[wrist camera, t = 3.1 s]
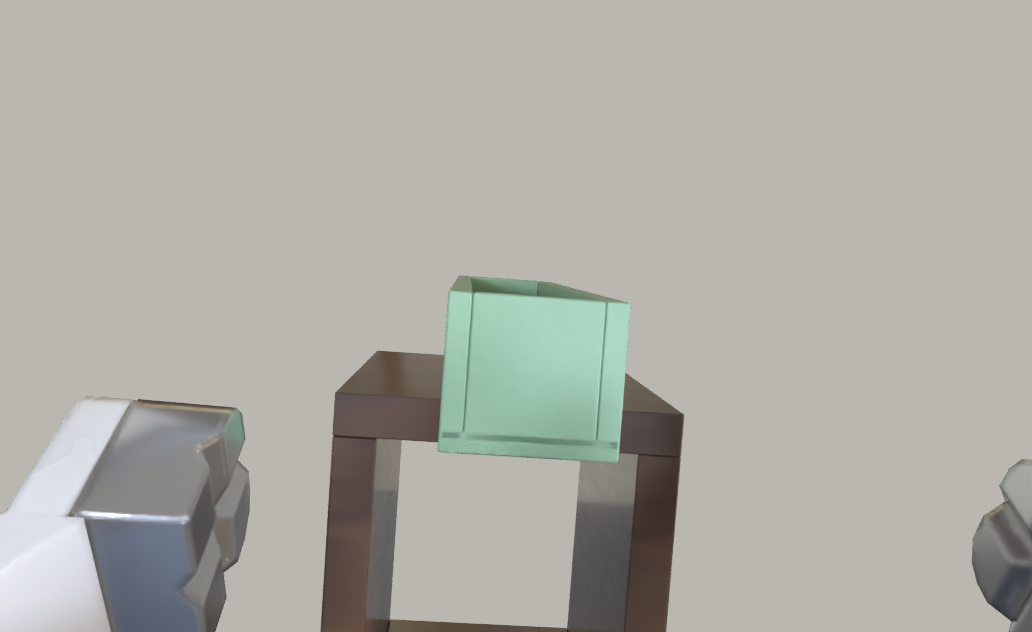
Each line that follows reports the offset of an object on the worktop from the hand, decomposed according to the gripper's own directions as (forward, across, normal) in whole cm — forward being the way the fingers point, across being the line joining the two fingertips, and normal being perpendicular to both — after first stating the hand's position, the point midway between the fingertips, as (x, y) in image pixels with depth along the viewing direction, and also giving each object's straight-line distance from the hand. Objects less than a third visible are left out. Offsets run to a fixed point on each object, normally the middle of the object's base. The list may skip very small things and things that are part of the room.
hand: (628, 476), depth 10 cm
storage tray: (+19, 0, -14) cm, 24 cm away
